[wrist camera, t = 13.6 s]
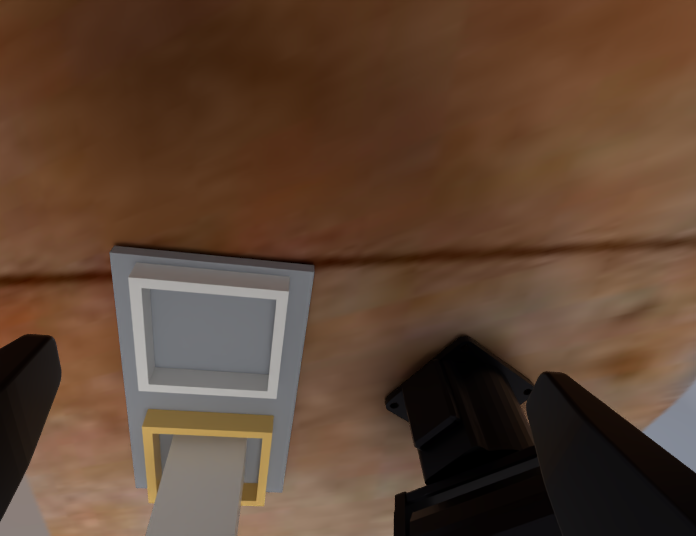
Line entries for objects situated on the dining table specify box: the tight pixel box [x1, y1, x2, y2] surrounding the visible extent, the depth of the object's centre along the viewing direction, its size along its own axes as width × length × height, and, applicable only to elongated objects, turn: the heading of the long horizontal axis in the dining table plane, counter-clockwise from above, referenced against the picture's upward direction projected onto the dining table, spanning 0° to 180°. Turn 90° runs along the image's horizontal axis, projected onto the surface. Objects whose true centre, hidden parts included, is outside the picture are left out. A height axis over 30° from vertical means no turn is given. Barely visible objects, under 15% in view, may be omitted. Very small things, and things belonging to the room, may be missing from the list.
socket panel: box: [110, 246, 314, 506], centre depth 26 cm, size 17×9×2 cm, turn 171°
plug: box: [145, 434, 247, 536], centre depth 26 cm, size 5×4×8 cm
